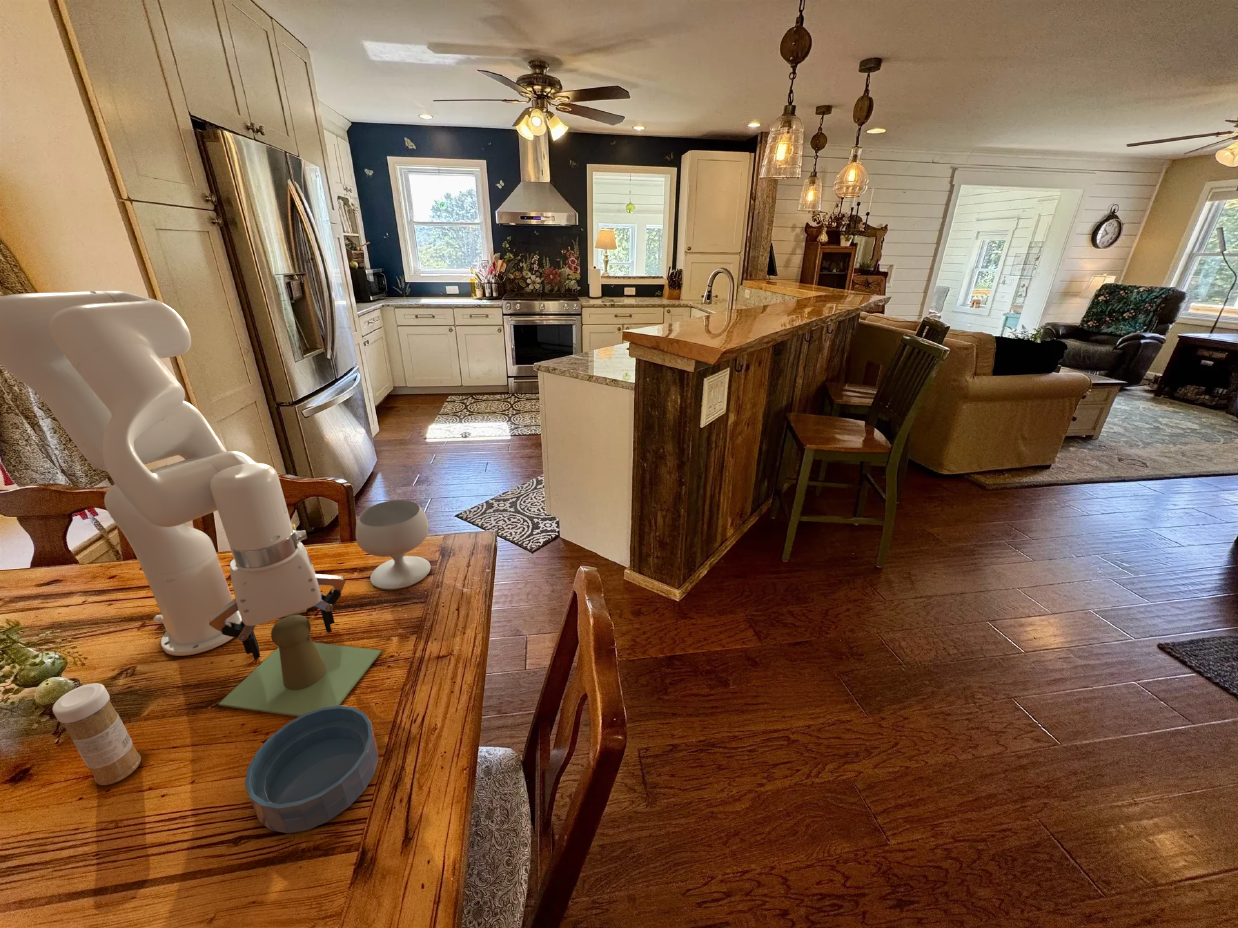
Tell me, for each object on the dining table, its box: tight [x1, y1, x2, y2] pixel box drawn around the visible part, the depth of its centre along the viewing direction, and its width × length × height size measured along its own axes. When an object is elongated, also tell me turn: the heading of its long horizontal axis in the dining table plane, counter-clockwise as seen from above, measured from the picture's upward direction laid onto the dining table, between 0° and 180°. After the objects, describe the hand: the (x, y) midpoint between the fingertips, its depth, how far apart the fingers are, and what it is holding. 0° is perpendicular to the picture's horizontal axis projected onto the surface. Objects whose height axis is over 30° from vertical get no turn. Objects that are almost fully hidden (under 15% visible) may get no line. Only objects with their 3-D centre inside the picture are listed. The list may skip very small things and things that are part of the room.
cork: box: [270, 614, 326, 690], centre depth 78 cm, size 6×6×11 cm
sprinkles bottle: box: [51, 682, 142, 786], centre depth 63 cm, size 5×5×13 cm
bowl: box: [244, 704, 379, 834], centre depth 64 cm, size 14×14×5 cm
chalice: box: [355, 499, 432, 590], centre depth 104 cm, size 14×14×15 cm
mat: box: [218, 641, 382, 718], centre depth 80 cm, size 18×14×1 cm
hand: (293, 640), depth 78 cm, fingers open, 9 cm apart
